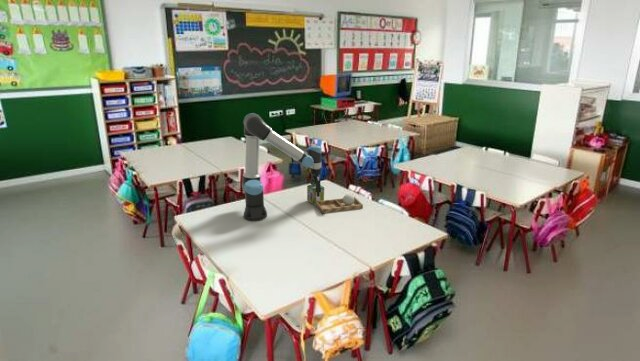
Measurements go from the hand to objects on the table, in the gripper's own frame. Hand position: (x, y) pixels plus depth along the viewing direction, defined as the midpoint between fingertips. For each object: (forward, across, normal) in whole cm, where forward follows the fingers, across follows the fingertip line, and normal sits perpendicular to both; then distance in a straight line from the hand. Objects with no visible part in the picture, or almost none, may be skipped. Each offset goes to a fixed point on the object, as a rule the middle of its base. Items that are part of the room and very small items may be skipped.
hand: (315, 197), depth 290 cm
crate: (+3, -15, -12) cm, 20 cm away
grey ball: (+2, -15, -19) cm, 25 cm away
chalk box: (+3, 0, 0) cm, 3 cm away
